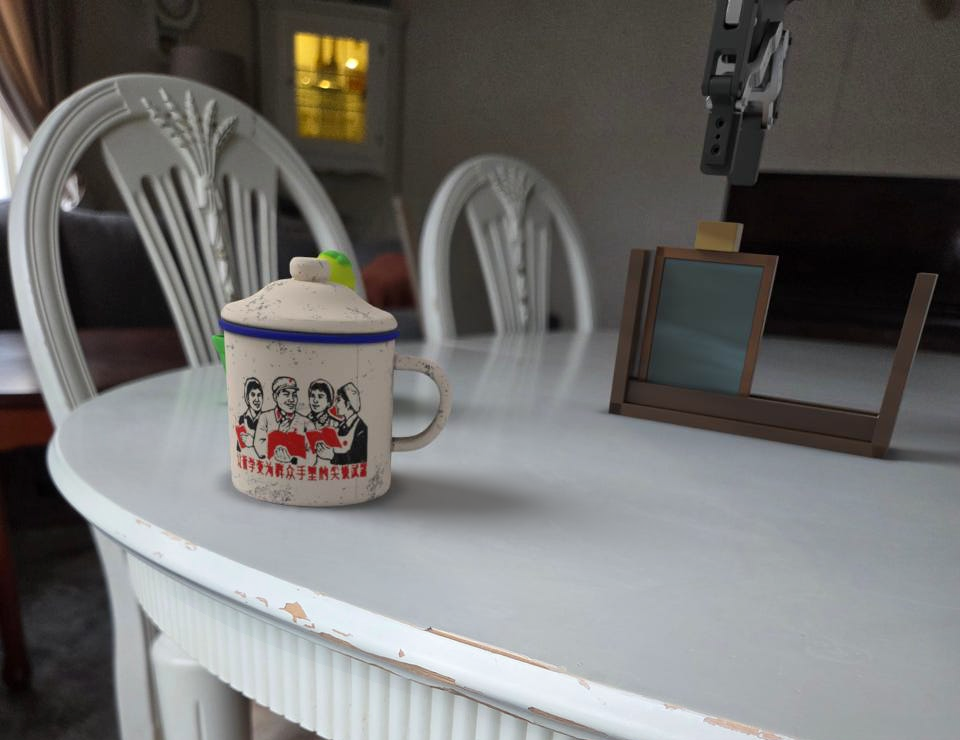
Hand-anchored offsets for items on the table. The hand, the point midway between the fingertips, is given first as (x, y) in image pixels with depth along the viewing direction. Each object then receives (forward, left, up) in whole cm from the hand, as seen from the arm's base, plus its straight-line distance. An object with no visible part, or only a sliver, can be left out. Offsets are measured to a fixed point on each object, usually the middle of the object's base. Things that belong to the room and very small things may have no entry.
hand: (728, 180), depth 64 cm
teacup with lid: (+35, -10, -18) cm, 41 cm away
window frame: (0, +5, -18) cm, 19 cm away
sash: (0, 0, -17) cm, 17 cm away
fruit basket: (+18, -26, -18) cm, 37 cm away
